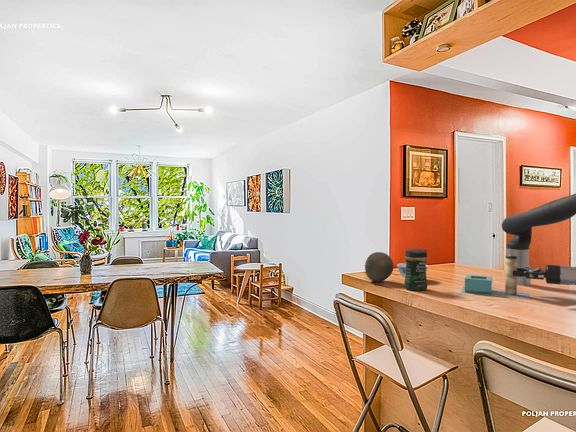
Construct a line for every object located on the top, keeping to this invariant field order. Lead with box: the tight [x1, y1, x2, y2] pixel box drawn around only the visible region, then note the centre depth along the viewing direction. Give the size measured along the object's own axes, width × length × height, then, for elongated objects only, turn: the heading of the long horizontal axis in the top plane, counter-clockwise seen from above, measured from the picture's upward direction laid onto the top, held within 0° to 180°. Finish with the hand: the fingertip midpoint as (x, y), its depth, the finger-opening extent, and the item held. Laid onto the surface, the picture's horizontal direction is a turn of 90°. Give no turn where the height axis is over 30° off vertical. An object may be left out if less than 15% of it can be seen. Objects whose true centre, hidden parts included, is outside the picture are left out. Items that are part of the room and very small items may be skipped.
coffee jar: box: [404, 248, 428, 291], centre depth 170 cm, size 10×8×19 cm
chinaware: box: [396, 262, 429, 278], centre depth 193 cm, size 15×15×8 cm
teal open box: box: [464, 274, 493, 296], centre depth 161 cm, size 10×10×6 cm
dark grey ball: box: [364, 251, 394, 283], centre depth 188 cm, size 14×14×15 cm
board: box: [460, 286, 531, 301], centre depth 158 cm, size 25×13×1 cm, turn 59°
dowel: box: [504, 254, 518, 296], centre depth 154 cm, size 4×4×16 cm
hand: (512, 271), depth 154 cm, fingers open, 8 cm apart
